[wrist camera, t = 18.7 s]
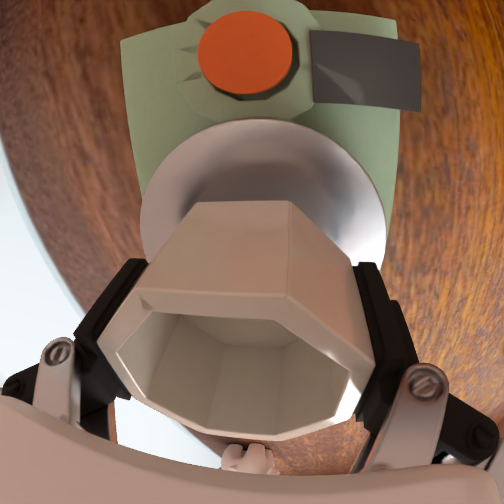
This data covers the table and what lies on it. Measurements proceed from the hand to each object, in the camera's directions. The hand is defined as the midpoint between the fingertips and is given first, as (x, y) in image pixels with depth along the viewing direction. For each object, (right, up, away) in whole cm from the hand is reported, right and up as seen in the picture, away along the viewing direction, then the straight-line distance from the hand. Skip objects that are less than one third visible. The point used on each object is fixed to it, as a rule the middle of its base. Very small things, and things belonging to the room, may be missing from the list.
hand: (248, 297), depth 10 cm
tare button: (0, +9, -1) cm, 9 cm away
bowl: (0, 0, +1) cm, 1 cm away
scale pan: (+1, +4, +2) cm, 4 cm away
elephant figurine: (+1, -29, +26) cm, 39 cm away
